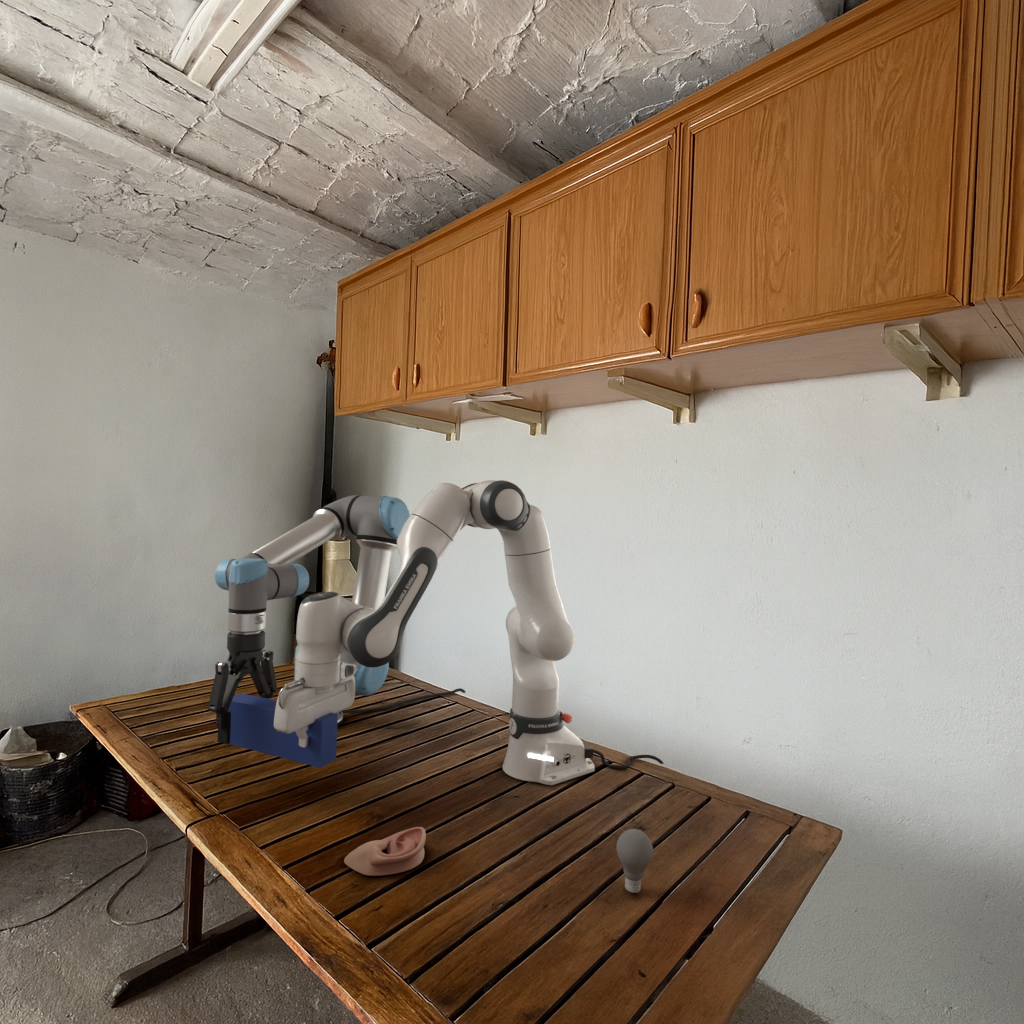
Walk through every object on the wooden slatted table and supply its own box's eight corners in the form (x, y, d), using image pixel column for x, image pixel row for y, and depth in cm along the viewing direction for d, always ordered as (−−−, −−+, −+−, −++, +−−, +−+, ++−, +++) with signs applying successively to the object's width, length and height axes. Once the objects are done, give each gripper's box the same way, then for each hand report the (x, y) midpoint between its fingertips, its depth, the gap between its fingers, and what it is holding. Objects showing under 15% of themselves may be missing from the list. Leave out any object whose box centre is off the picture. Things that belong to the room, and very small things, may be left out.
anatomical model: (336, 847, 108) (365, 815, 119) (335, 870, 108) (364, 836, 119) (410, 859, 105) (432, 825, 116) (409, 883, 105) (431, 846, 116)
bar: (221, 742, 136) (223, 698, 135) (239, 734, 140) (240, 692, 140) (320, 768, 125) (322, 721, 125) (336, 759, 129) (337, 713, 129)
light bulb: (610, 879, 108) (613, 822, 108) (644, 879, 109) (647, 822, 109) (619, 902, 102) (622, 840, 102) (655, 901, 103) (658, 840, 103)
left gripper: (216, 642, 124) (212, 756, 125) (296, 624, 144) (293, 722, 145) (189, 638, 127) (185, 748, 128) (271, 620, 147) (268, 716, 148)
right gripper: (292, 688, 117) (290, 762, 118) (361, 664, 136) (358, 727, 136) (267, 683, 120) (264, 755, 120) (337, 660, 139) (335, 722, 139)
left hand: (242, 734), depth 136 cm, fingers open, 9 cm apart
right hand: (315, 740), depth 128 cm, fingers closed on bar, 5 cm apart
